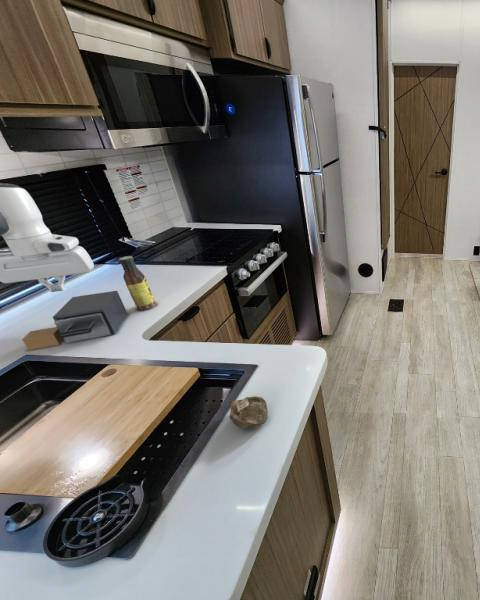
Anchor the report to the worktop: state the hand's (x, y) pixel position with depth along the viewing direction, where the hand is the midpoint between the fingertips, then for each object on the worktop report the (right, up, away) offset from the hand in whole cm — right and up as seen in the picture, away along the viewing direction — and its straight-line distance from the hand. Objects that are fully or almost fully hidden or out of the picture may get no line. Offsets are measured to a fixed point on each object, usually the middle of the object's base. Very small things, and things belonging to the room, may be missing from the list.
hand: (58, 290), depth 96 cm
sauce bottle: (+2, -6, +30) cm, 31 cm away
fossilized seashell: (+64, -31, -19) cm, 74 cm away
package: (-13, -17, +9) cm, 23 cm away
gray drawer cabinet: (-4, -12, +17) cm, 22 cm away
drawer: (-2, -13, +13) cm, 19 cm away
